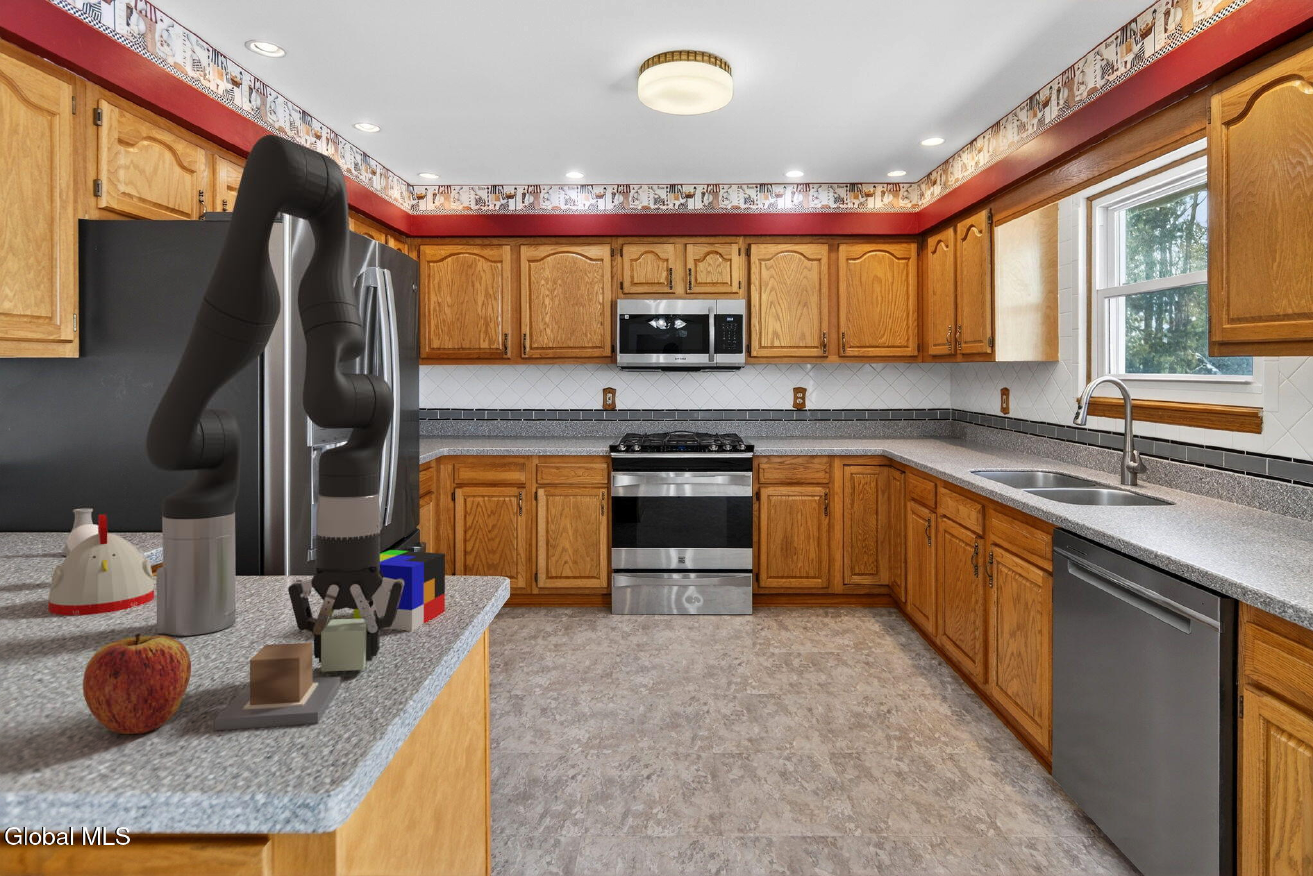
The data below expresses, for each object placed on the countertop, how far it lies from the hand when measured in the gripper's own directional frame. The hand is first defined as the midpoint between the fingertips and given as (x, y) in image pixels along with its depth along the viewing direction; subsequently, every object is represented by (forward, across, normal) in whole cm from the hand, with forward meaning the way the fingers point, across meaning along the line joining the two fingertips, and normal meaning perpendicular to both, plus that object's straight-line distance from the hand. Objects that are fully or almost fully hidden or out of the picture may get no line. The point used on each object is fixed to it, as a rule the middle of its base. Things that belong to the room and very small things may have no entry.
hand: (347, 659), depth 89 cm
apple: (+2, -18, -13) cm, 22 cm away
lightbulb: (+3, -57, +52) cm, 77 cm away
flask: (+3, -72, +80) cm, 107 cm away
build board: (+1, -5, -10) cm, 11 cm away
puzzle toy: (+2, +3, +22) cm, 22 cm away
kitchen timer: (+2, -47, +38) cm, 60 cm away
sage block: (0, 0, 0) cm, 0 cm away
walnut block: (0, -5, -10) cm, 11 cm away
